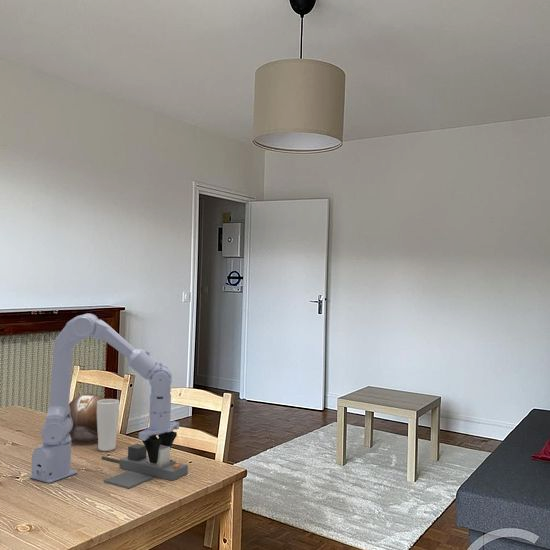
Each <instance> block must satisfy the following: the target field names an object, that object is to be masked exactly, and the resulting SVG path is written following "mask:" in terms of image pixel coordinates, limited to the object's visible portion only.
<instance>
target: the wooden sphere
mask: <svg viewBox="0 0 550 550" xmlns="http://www.w3.org/2000/svg"><path fill="white" fill-rule="evenodd" d="M103 399H105V398H103V397H102V396H101V395H98V394H95V393H85V394H80V395H78V396H76V397H75V398H74V399H72V400H70V401H69V406H70V415H71V418H72V420H73V428H72V430H71V431H70V432H69V435H70V437H71V436H72V438H74V439H76V440H79V441H85V442H87V441H93V440H96V439H98V432H97V401H99V400H103Z"/></svg>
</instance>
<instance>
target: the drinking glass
mask: <svg viewBox="0 0 550 550" xmlns="http://www.w3.org/2000/svg"><path fill="white" fill-rule="evenodd" d="M119 417H120V400H119V399H116V398H115V399H114V398H104V399H103V400H99V401H97V432H98V438H97V449H98V450H99V451H101V452H110V451H113V450H115V449H116V447H117V433H118V425H119Z"/></svg>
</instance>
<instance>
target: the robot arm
mask: <svg viewBox="0 0 550 550" xmlns="http://www.w3.org/2000/svg"><path fill="white" fill-rule="evenodd" d="M91 336H92V340H98V341H105V342H106V343H107V344H108V345H109V346H111V347H112V348H114V349H115V350H116V351H118V352H119V353H120V354H121V355H122V356H124V357H125V358H127V365H128V366H129V367H130V368H131V369H132V370H133V371H135V372H136V373H137V374H138V375H139V376H141V377H142V378H144V379H145V380H148V381H149V385H150V395H149V422H148V423H149V425H148V427H147V428H144V429H143V430H142V431H139V432H138V440H139V441H142V442H143V445H145V447H146V449H147V450H146V454H147V456H149V461H150V463H154V464H156V463H157V461H158V452H159V447H160V445H165V446H169V447H170V450H171V448H172V445H173V443H174V441H175V439H176V438H177V435H178V433H177V430H179V429H180V422H178V421H171V418H172V417H171V415H172V413H171V411H172V409H171V408H172V394H171V392H172V391H171V390H172V387H171V384H172V379H173V377H172V372H171V370H170V369H169V368H168V367H167V366H165V365H164V364H163V362H161V361H160V362H158V361H157V360H156V359H155V358H154V357H153V356H151V355H150V354H151V352H150V351H149V350H148V349H146V350H144V349H143V348H135V347H134V346H133V345H131V344H130V343H129V341H127V340H126V339H125V338H124V337H123V336H121V335H120V334H119V333H118V332H117V331H116V330H115V329H114V328H112V326H111V325H109V324H108V323H107V322H105V321H104V320H102V319H101V318H100V319H99V318H98V316H97V315H96V314H93V313H91V312H90V313H88V312H87V313H84V314H80V315H76V316H75V317H73V318H72V319H70V320H69V321H67V322H66V324H65V326H64V327H63V329H62V330H61V331H59V334H58V335H57V336H56V338H55V339H54V341H53V352H52V353H53V354H52V364H51V365H52V366H51V368H52V369H51V378H50V380H51V381H50V393H49V394H50V395H49V407H48V410H47V413H46V417H45V423H44V425H43V426H42V428H41V431H40V436H41V439H42V443H41V444H40V446H39V445H38V446H37V447H36V448H34V449H33V452H32V455H31V474H30V475H29V478H30V479H32V480H33V479H34V480H37V481H41V482H45V483H48V484H50V483H54V482H56V481H58V480H63V479H65V478H68V477H70V476H72V475H75V474H78V470H75V469H71V465H72V464H71V463H72V462H71V461H72V437H71V435H70V434H69V432H70V431H71V430H72V428H73V420H72V418H71V415H70V406H69V403H70V398H71V397H70V396H71V384H72V383H71V382H72V381H71V380H72V368H73V356H74V355H73V354H74V353H73V352H74V347H75V346H77V345H78V344H79V343H81V342H82V340H85V339H88V338H90V337H91ZM174 430H176V431H174Z"/></svg>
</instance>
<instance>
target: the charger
mask: <svg viewBox="0 0 550 550" xmlns="http://www.w3.org/2000/svg"><path fill="white" fill-rule="evenodd" d="M147 456H148V455H147ZM170 460H171V449H170V447H169V446H165V445H160V447H159V452H158V461H157V463H156V464H154V463H150V461H149V456H148V463H149V464H153V465H157V466H162V465H165V464H167V463H170Z"/></svg>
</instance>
